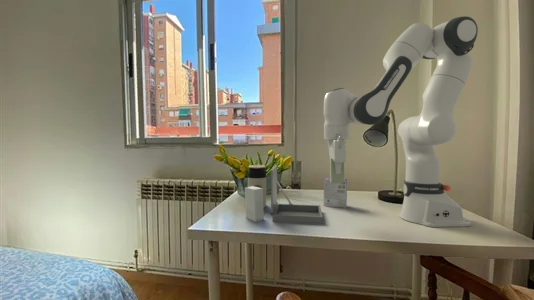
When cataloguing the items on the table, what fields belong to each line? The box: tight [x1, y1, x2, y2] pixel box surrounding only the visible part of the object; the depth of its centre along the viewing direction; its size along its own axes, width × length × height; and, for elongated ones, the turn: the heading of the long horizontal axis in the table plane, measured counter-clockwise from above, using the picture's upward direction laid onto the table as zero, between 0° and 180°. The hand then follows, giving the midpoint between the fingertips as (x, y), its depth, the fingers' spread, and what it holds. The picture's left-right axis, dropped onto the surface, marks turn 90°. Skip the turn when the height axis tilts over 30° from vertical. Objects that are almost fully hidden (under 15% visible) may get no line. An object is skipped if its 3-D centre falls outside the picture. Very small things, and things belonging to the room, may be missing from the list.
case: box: [270, 164, 324, 225], centre depth 104 cm, size 18×17×19 cm
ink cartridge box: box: [323, 177, 348, 209], centre depth 121 cm, size 10×6×14 cm, turn 75°
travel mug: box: [247, 164, 267, 208], centre depth 119 cm, size 8×8×18 cm
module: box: [329, 156, 345, 183], centre depth 99 cm, size 4×4×10 cm
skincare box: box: [244, 186, 265, 222], centre depth 101 cm, size 6×4×12 cm
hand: (337, 172), depth 99 cm, fingers closed on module, 4 cm apart
